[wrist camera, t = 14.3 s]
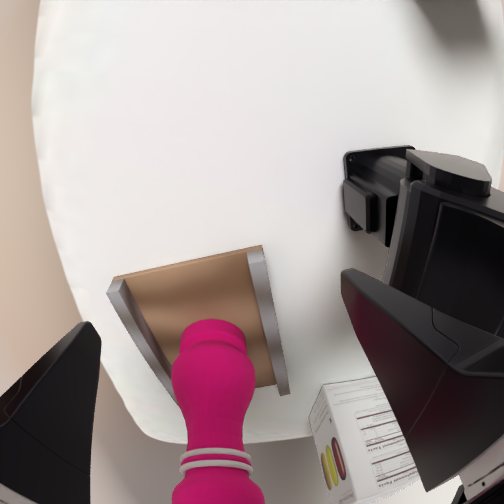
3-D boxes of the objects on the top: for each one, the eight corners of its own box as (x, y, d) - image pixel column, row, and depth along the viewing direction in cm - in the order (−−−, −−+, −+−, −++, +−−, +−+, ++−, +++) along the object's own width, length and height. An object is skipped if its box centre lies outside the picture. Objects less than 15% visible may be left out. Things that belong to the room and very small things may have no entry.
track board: (113, 277, 23) (105, 293, 21) (261, 244, 23) (265, 260, 21) (182, 394, 32) (181, 410, 30) (287, 377, 32) (290, 393, 30)
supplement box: (321, 383, 33) (357, 501, 19) (383, 373, 34) (428, 474, 20) (307, 418, 38) (330, 515, 23) (361, 408, 39) (392, 496, 24)
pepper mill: (235, 370, 29) (254, 553, 12) (169, 355, 27) (156, 550, 10) (262, 324, 26) (305, 547, 9) (185, 305, 24) (172, 554, 7)
